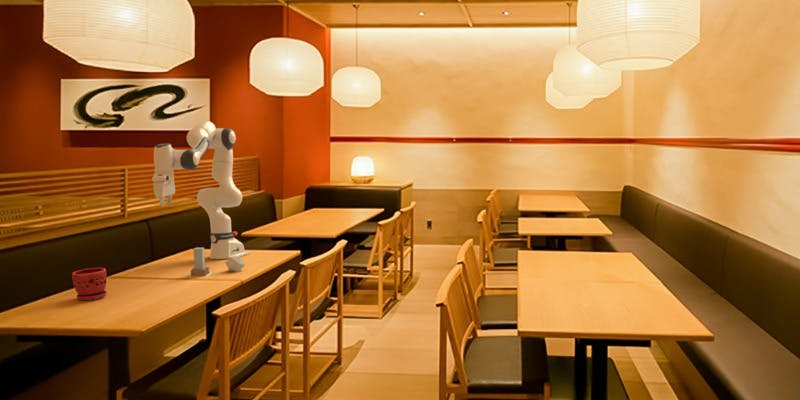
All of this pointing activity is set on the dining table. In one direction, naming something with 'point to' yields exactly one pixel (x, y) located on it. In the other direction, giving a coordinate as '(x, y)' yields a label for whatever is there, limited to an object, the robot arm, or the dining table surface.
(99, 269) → the plant pot
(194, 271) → the base block
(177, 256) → the dining table surface
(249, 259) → the dining table surface
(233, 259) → the die
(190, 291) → the dining table surface
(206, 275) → the mat
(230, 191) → the robot arm
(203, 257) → the column
